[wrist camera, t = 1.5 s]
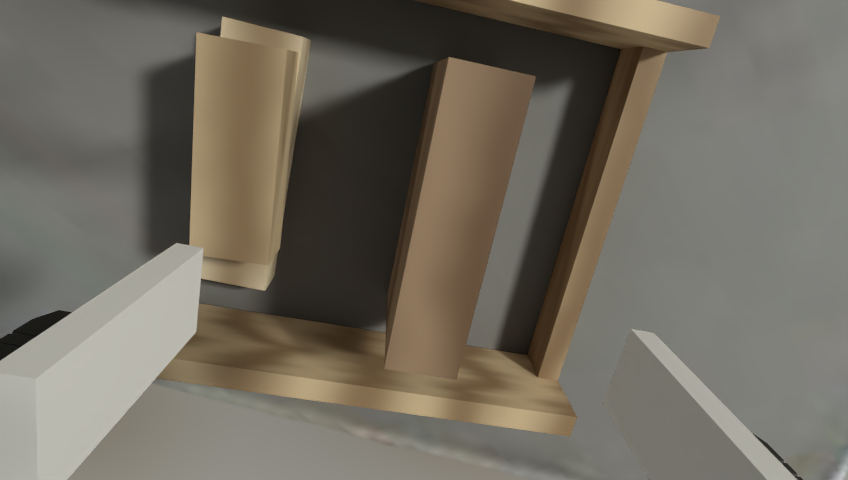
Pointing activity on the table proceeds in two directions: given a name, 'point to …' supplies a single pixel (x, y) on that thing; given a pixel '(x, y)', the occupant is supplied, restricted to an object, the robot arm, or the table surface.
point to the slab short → (240, 147)
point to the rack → (580, 249)
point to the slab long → (263, 274)
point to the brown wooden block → (452, 212)
